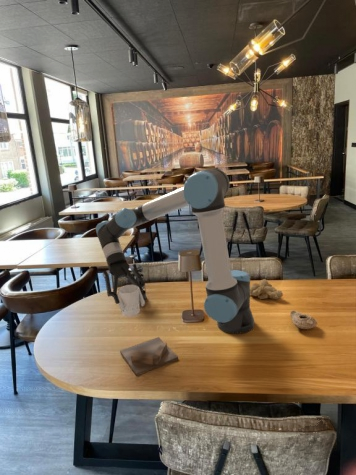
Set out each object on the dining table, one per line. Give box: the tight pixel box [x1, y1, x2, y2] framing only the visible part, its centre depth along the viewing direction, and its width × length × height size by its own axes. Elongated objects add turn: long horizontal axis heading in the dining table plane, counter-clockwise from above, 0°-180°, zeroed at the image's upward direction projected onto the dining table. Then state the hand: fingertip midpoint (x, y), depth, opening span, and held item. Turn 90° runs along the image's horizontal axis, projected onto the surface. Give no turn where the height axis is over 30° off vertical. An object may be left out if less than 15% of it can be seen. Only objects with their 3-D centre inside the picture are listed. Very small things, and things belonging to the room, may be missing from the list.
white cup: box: [117, 284, 141, 317], centre depth 131 cm, size 8×8×10 cm
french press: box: [125, 254, 148, 304], centre depth 168 cm, size 12×9×23 cm
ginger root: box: [250, 278, 284, 300], centre depth 165 cm, size 16×16×8 cm
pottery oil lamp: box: [289, 310, 318, 330], centre depth 137 cm, size 9×12×7 cm
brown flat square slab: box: [119, 336, 179, 377], centre depth 123 cm, size 16×16×3 cm
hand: (133, 307), depth 128 cm, fingers closed on white cup, 8 cm apart
